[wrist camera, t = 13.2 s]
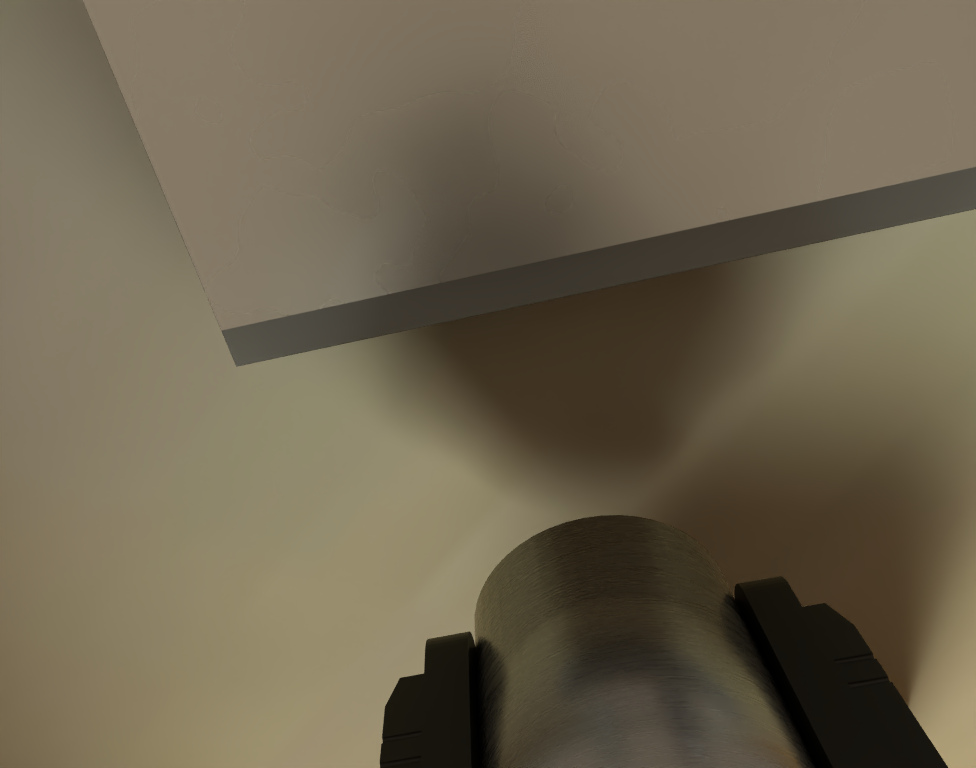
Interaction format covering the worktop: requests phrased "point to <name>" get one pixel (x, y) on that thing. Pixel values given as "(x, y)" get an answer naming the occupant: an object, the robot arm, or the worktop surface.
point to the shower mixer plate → (515, 126)
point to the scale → (605, 267)
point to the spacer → (622, 657)
